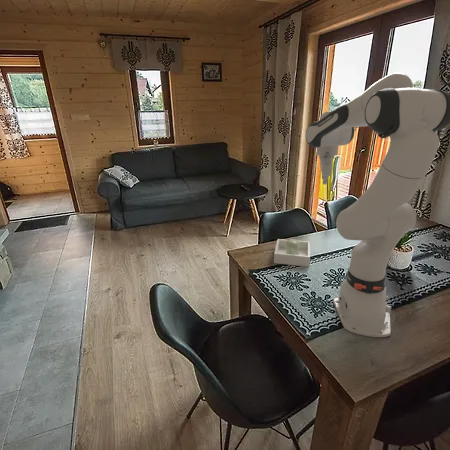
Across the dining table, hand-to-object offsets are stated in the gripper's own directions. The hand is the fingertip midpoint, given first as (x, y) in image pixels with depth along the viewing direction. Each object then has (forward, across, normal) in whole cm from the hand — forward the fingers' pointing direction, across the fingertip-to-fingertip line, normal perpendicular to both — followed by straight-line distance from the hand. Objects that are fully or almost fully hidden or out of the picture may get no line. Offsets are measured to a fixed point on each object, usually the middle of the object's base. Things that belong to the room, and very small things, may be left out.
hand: (324, 181), depth 132 cm
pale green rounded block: (+34, -10, +12) cm, 38 cm away
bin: (+35, -10, +12) cm, 38 cm away
